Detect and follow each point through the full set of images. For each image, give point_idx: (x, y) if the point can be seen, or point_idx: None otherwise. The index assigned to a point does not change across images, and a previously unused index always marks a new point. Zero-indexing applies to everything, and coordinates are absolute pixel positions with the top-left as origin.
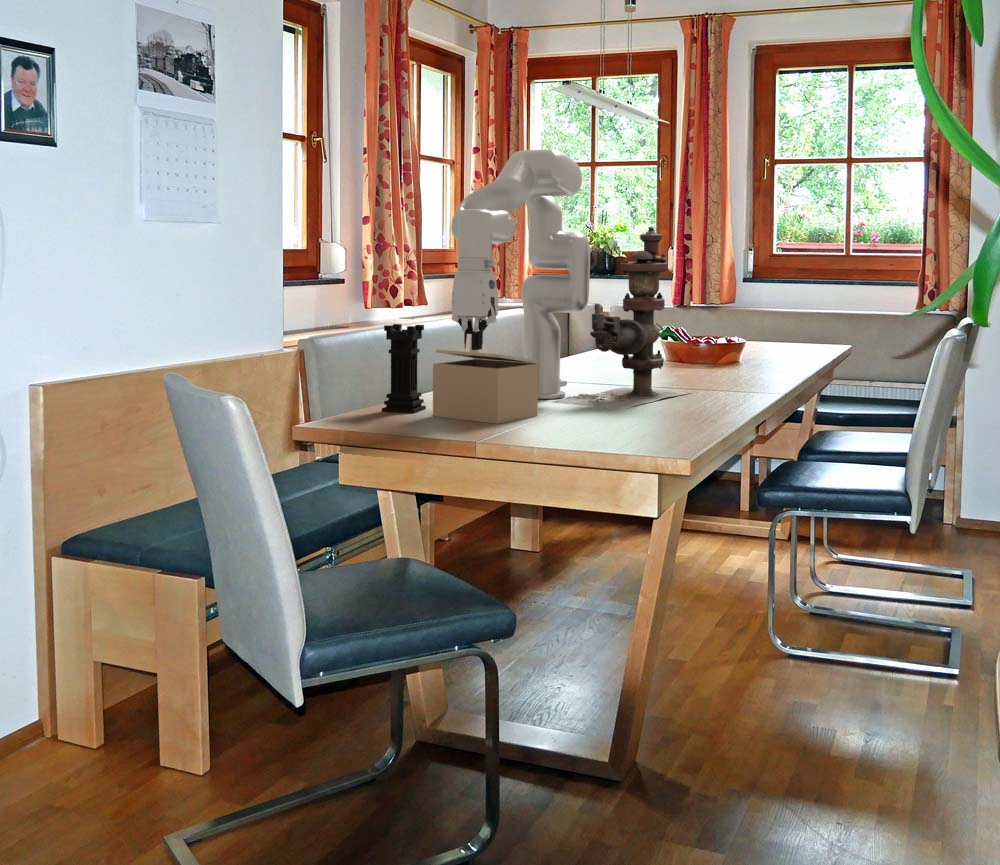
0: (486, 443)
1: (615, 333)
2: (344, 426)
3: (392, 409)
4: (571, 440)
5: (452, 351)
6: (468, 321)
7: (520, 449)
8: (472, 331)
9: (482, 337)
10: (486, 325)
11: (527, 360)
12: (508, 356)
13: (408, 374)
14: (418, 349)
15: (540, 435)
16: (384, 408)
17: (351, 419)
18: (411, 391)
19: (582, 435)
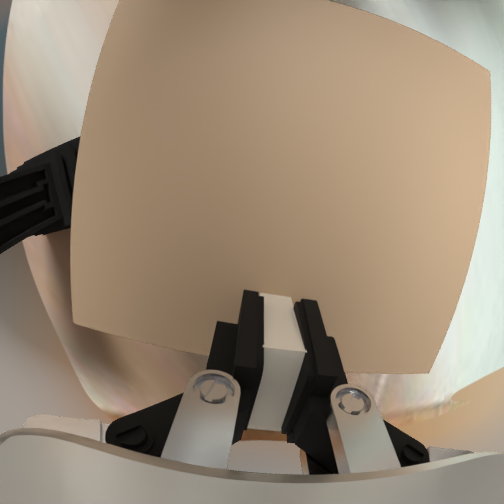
0: (383, 417)
1: None
2: (129, 397)
3: (59, 229)
4: (483, 345)
5: (167, 346)
6: (182, 448)
7: (425, 419)
8: (249, 392)
9: (341, 369)
10: (397, 443)
11: (485, 153)
12: (453, 311)
13: (23, 231)
14: None
15: (449, 337)
16: (46, 233)
17: (82, 341)
18: (55, 209)
19: (499, 301)
